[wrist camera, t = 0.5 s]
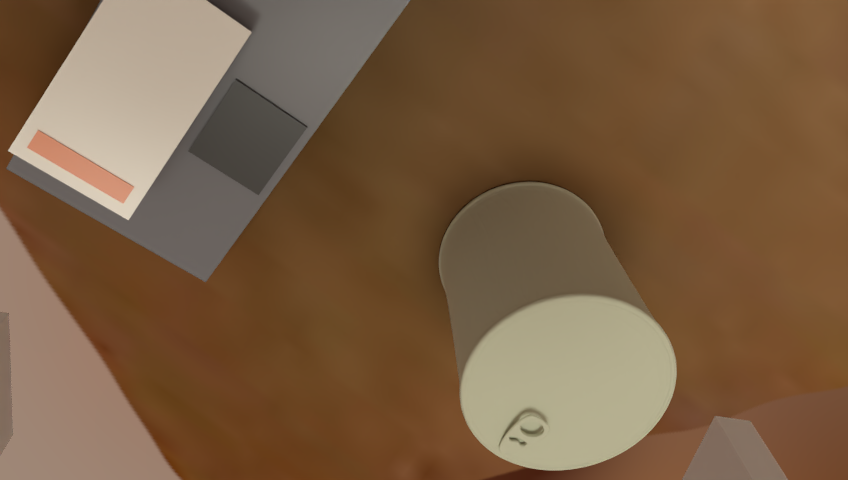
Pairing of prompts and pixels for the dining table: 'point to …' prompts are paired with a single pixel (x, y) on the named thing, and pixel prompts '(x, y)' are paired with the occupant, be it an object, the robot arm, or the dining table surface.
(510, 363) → the can
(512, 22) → the dining table surface
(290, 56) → the rocker switch panel
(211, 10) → the small box
